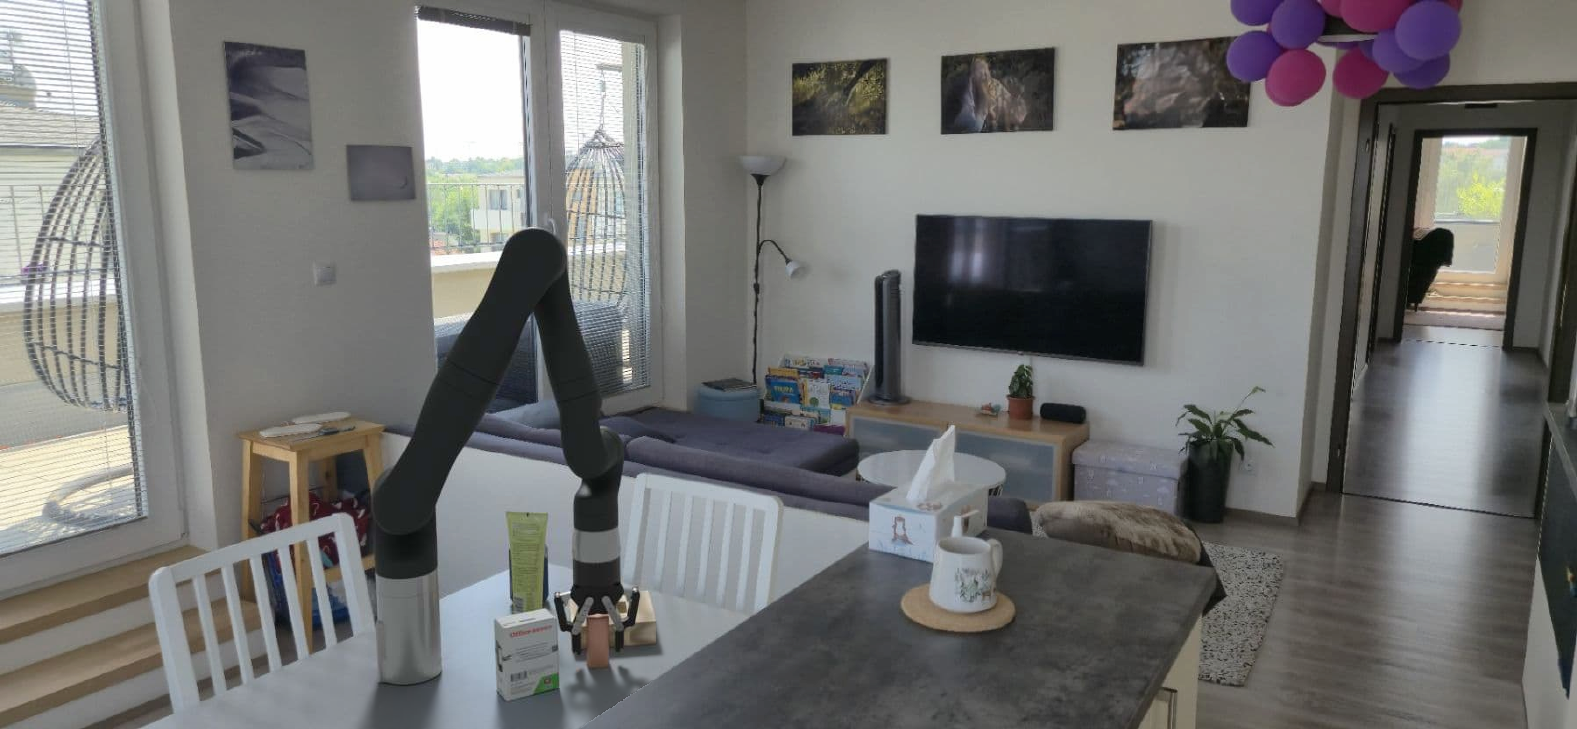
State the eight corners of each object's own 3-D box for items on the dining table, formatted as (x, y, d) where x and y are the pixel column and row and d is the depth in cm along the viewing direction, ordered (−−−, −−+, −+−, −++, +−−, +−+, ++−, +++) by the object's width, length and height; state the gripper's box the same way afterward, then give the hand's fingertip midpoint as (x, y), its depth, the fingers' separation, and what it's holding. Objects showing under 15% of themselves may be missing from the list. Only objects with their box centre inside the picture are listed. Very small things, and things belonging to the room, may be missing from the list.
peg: (587, 669, 178) (586, 622, 177) (586, 659, 181) (585, 613, 180) (609, 667, 179) (609, 620, 177) (608, 658, 182) (608, 611, 181)
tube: (537, 608, 202) (535, 505, 198) (550, 617, 198) (548, 512, 194) (508, 616, 198) (505, 510, 195) (521, 625, 194) (518, 518, 191)
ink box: (548, 676, 175) (547, 605, 173) (560, 689, 171) (559, 616, 169) (495, 689, 171) (492, 616, 169) (505, 702, 167) (503, 628, 165)
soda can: (555, 597, 207) (553, 535, 205) (538, 611, 200) (537, 548, 198) (520, 593, 209) (519, 532, 207) (503, 607, 202) (501, 544, 200)
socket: (571, 649, 185) (571, 627, 184) (569, 616, 198) (569, 595, 198) (655, 643, 188) (655, 621, 187) (648, 611, 201) (648, 590, 201)
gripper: (639, 542, 182) (640, 639, 185) (550, 547, 179) (552, 646, 182) (644, 557, 175) (644, 658, 178) (550, 563, 172) (552, 666, 175)
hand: (597, 651), depth 180 cm, fingers open, 5 cm apart
